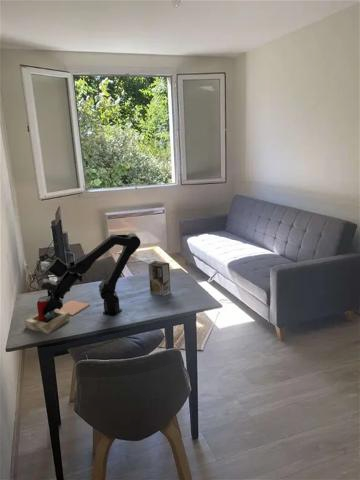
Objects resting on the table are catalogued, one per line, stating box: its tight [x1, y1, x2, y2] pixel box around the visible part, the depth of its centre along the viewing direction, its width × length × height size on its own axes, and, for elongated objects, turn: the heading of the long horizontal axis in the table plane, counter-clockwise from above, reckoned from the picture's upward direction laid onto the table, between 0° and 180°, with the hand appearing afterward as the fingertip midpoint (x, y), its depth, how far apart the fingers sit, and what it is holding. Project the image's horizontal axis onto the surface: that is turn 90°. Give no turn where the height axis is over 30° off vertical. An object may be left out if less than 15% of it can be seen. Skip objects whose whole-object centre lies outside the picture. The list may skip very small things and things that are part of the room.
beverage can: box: [36, 295, 56, 323], centre depth 156 cm, size 7×7×12 cm
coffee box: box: [148, 260, 171, 296], centre depth 184 cm, size 9×6×16 cm
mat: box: [55, 300, 91, 317], centre depth 172 cm, size 12×12×1 cm
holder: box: [24, 310, 71, 335], centre depth 158 cm, size 13×13×4 cm
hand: (42, 310), depth 156 cm, fingers closed on beverage can, 7 cm apart
